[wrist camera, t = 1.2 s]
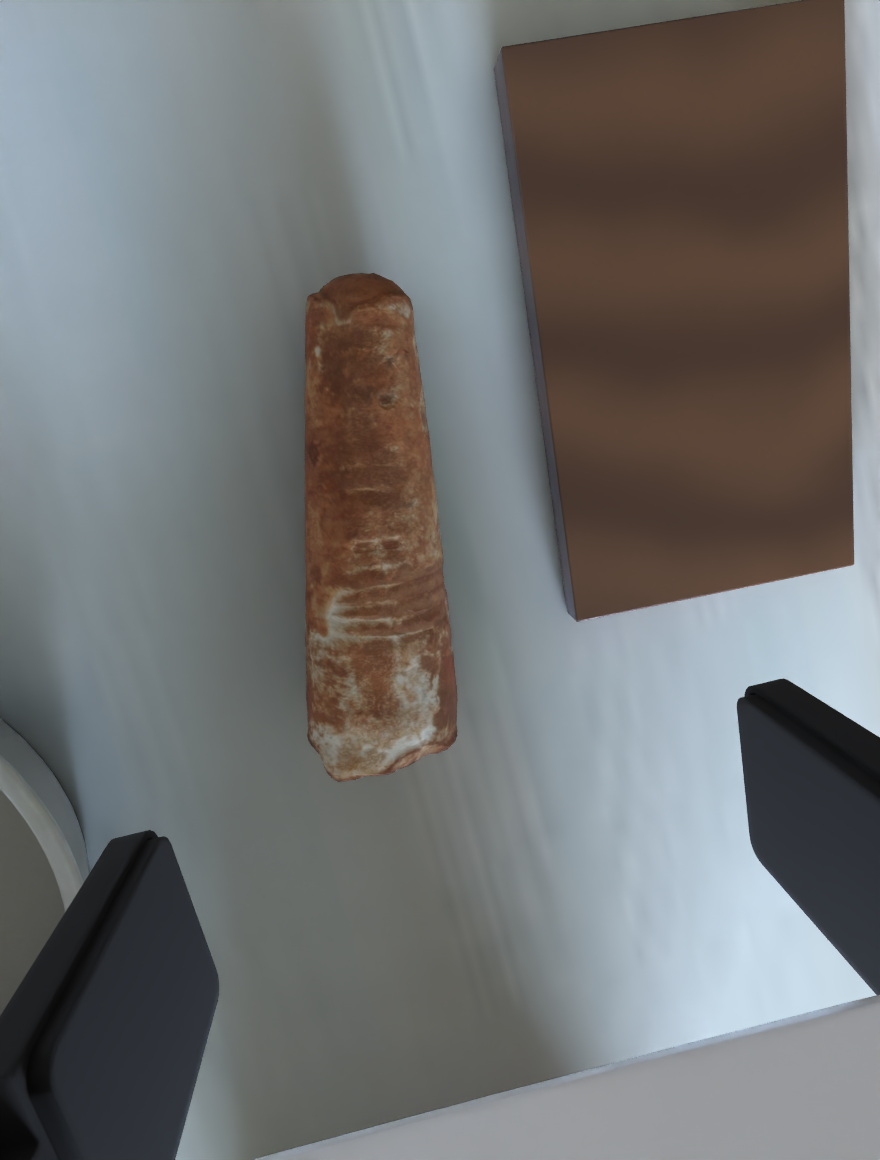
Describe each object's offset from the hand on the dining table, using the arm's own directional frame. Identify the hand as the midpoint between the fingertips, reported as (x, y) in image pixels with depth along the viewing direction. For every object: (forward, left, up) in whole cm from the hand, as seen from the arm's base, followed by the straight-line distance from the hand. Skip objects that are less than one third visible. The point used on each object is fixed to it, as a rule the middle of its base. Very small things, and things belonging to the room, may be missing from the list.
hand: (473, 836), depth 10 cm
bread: (-3, -2, -20) cm, 20 cm away
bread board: (-8, +13, -19) cm, 25 cm away
